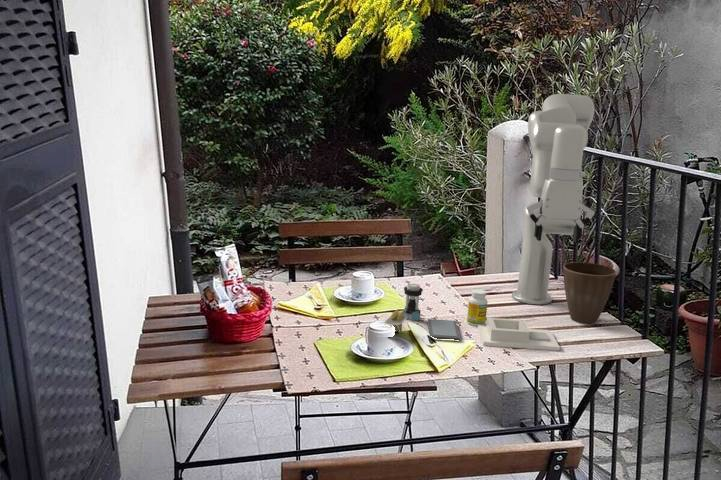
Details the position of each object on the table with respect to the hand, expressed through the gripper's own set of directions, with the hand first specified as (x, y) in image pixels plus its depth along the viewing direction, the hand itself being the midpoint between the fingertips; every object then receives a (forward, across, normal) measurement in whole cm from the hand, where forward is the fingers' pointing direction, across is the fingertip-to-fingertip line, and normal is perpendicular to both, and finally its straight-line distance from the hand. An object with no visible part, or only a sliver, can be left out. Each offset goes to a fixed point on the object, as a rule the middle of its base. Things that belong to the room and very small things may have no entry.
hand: (556, 240), depth 191 cm
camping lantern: (+29, +34, -15) cm, 47 cm away
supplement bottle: (+29, +16, -14) cm, 36 cm away
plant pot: (+29, -17, -23) cm, 41 cm away
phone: (+29, +27, -5) cm, 39 cm away
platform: (+29, +40, -1) cm, 49 cm away
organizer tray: (+29, +7, -3) cm, 30 cm away
